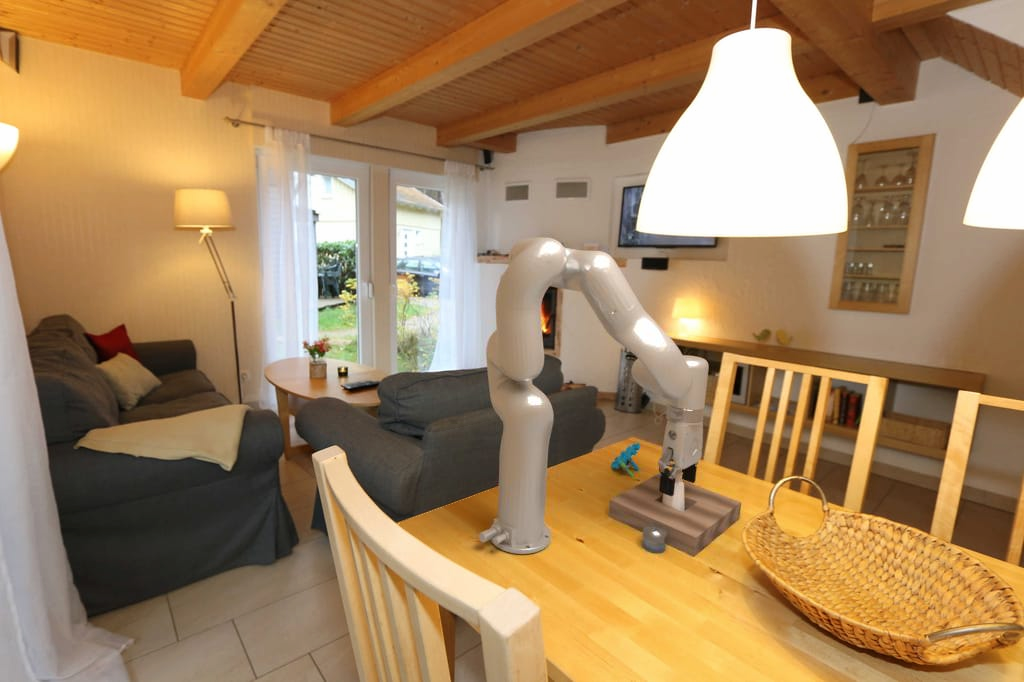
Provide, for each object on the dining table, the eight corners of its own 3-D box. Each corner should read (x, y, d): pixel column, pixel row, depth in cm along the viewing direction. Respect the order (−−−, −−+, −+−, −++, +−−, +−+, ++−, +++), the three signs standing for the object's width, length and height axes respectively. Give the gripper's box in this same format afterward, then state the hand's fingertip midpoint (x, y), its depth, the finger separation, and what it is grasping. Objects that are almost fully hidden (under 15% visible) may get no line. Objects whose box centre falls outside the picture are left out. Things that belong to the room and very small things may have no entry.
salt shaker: (689, 521, 111) (694, 474, 109) (669, 524, 109) (674, 477, 107) (673, 509, 116) (678, 464, 114) (654, 512, 114) (658, 467, 112)
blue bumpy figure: (614, 453, 144) (640, 435, 139) (628, 469, 143) (655, 451, 138) (604, 472, 134) (632, 454, 129) (619, 489, 134) (648, 472, 129)
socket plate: (693, 556, 98) (695, 537, 97) (608, 516, 112) (609, 499, 111) (739, 518, 113) (741, 502, 112) (659, 487, 127) (660, 472, 126)
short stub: (658, 556, 97) (659, 537, 97) (637, 546, 101) (639, 528, 100) (669, 547, 100) (671, 529, 100) (649, 538, 104) (651, 520, 103)
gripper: (681, 426, 99) (673, 506, 102) (719, 409, 111) (711, 481, 114) (648, 416, 105) (641, 492, 108) (687, 402, 117) (680, 470, 120)
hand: (677, 487), depth 111 cm, fingers open, 9 cm apart
